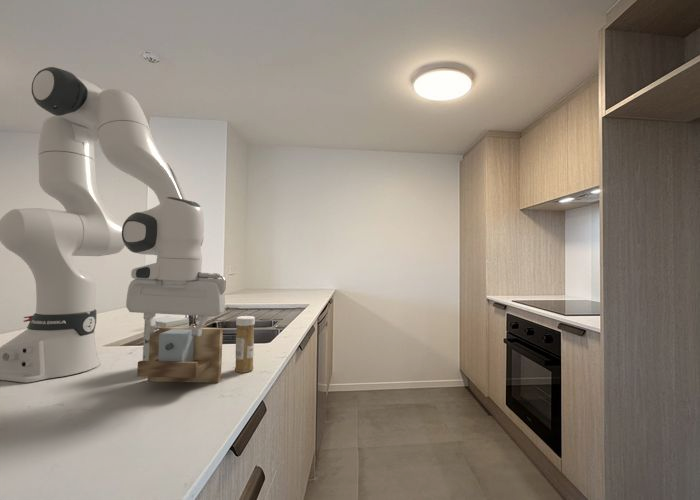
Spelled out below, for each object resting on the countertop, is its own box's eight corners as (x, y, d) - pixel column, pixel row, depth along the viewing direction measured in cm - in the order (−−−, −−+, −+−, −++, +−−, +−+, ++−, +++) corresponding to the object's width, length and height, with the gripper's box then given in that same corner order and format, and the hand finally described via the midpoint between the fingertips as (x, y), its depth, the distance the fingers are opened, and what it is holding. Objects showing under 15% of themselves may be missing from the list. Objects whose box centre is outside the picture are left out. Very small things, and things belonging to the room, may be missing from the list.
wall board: (126, 393, 67) (129, 334, 67) (151, 378, 75) (153, 326, 76) (204, 395, 67) (206, 336, 67) (220, 380, 76) (222, 328, 76)
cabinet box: (155, 369, 67) (156, 334, 68) (170, 360, 73) (172, 329, 74) (179, 369, 68) (180, 335, 68) (193, 360, 74) (194, 329, 74)
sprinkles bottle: (255, 371, 82) (257, 317, 83) (237, 374, 80) (238, 318, 80) (250, 366, 86) (251, 314, 86) (232, 369, 83) (234, 316, 84)
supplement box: (140, 371, 81) (143, 319, 81) (166, 362, 87) (168, 315, 88) (163, 375, 78) (165, 322, 78) (188, 366, 85) (190, 317, 85)
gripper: (231, 273, 75) (227, 333, 75) (142, 268, 75) (138, 329, 75) (220, 274, 69) (216, 340, 68) (123, 269, 69) (119, 335, 68)
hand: (175, 334), depth 71 cm, fingers open, 8 cm apart
